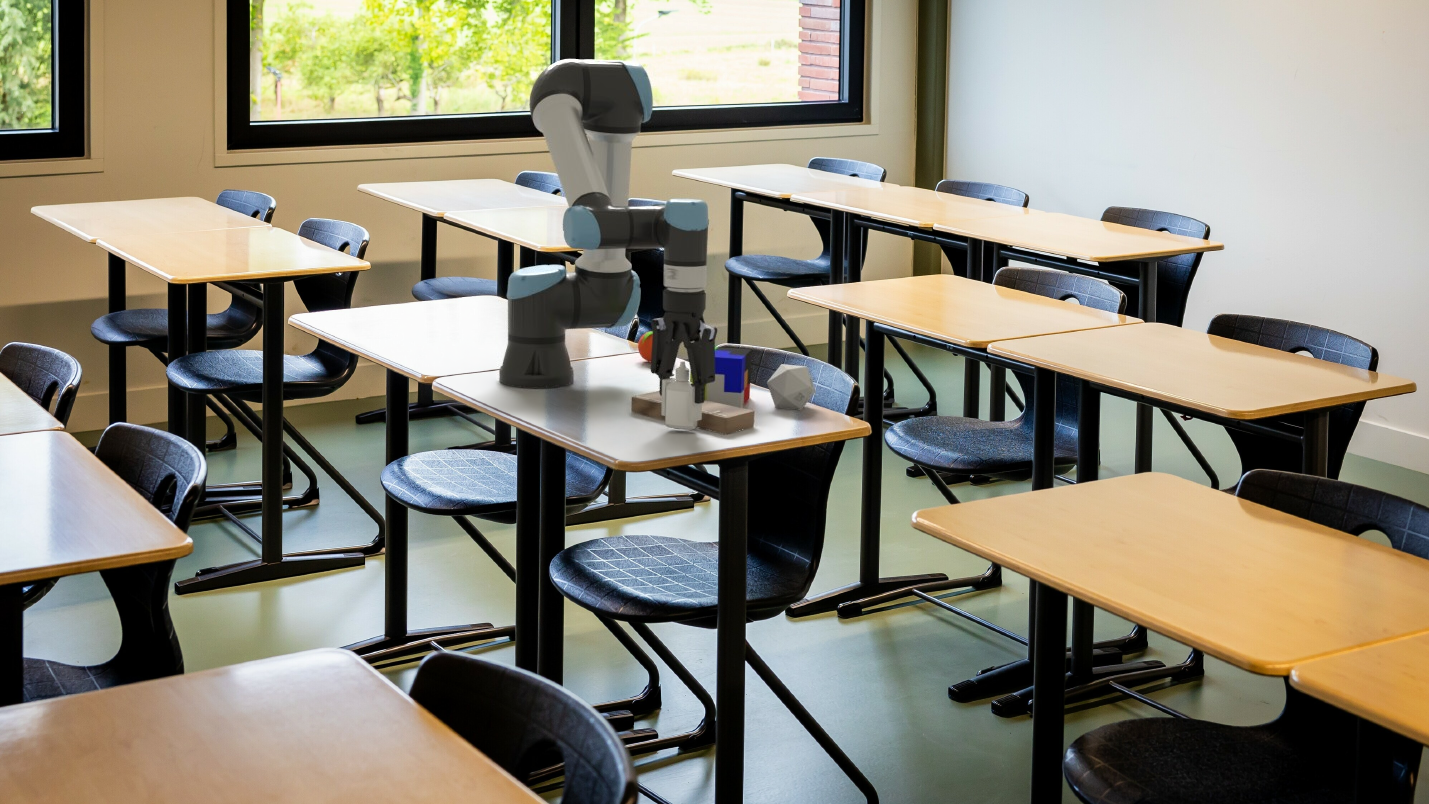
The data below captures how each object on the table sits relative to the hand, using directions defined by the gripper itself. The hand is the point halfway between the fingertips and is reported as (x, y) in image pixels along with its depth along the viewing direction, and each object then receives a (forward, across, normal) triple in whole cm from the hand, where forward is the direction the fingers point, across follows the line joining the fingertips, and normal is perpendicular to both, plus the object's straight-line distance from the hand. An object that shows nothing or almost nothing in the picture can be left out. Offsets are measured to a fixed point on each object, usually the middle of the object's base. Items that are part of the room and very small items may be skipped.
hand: (681, 417), depth 251 cm
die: (+3, +2, +30) cm, 30 cm away
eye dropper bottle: (+2, 0, 0) cm, 2 cm away
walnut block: (+3, -4, +8) cm, 10 cm away
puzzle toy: (+3, -10, +23) cm, 25 cm away
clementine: (+3, -45, +42) cm, 62 cm away
